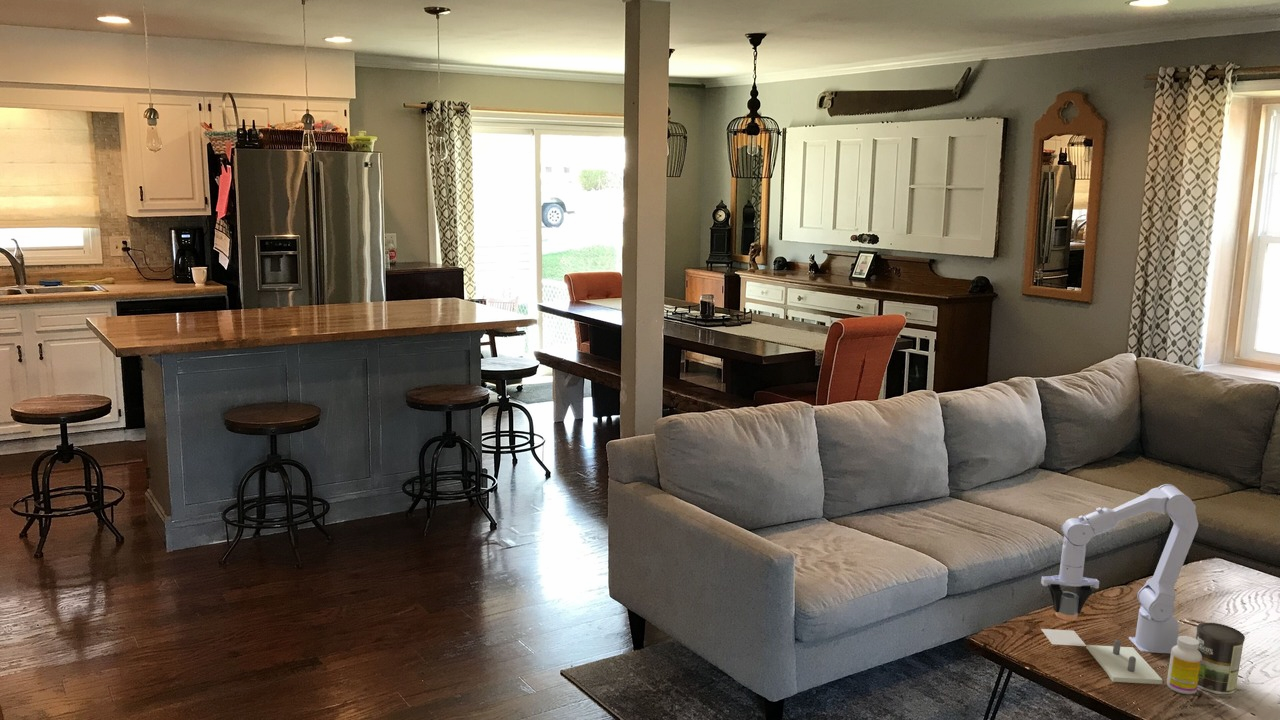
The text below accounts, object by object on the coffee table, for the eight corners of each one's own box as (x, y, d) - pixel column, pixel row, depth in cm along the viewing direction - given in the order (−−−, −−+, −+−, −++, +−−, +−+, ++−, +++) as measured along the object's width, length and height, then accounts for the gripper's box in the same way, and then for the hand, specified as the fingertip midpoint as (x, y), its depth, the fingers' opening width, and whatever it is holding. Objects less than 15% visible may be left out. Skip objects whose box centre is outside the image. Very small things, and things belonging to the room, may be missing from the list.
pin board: (1132, 651, 263) (1134, 633, 262) (1162, 684, 246) (1164, 665, 245) (1086, 649, 263) (1088, 631, 262) (1112, 681, 247) (1115, 663, 246)
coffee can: (1206, 695, 242) (1214, 641, 239) (1180, 674, 252) (1187, 622, 249) (1246, 694, 243) (1254, 641, 240) (1218, 673, 253) (1226, 622, 250)
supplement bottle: (1200, 697, 241) (1208, 648, 238) (1171, 693, 242) (1178, 644, 240) (1191, 683, 247) (1198, 635, 245) (1162, 680, 248) (1169, 632, 246)
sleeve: (1072, 612, 270) (1074, 591, 269) (1079, 620, 265) (1081, 599, 264) (1053, 611, 270) (1055, 590, 269) (1060, 619, 265) (1062, 598, 264)
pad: (1073, 631, 273) (1074, 630, 273) (1086, 647, 264) (1086, 646, 264) (1040, 630, 274) (1040, 628, 274) (1052, 645, 265) (1052, 644, 265)
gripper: (1094, 559, 268) (1088, 605, 271) (1039, 556, 269) (1034, 603, 272) (1104, 569, 262) (1098, 617, 264) (1048, 566, 262) (1043, 614, 265)
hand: (1066, 611), depth 267 cm, fingers closed on sleeve, 5 cm apart
